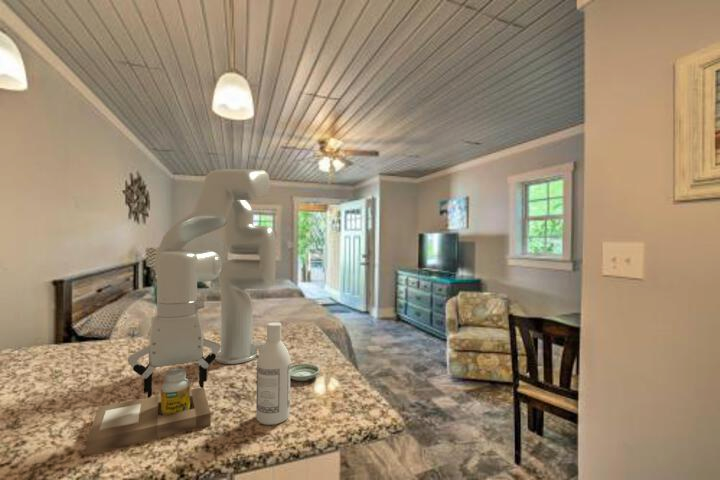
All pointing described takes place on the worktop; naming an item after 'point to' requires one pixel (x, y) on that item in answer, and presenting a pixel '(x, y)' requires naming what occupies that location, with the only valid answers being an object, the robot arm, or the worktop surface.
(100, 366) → the worktop surface
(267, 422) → the bath foam
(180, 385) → the supplement bottle
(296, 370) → the saucer
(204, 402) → the rack board
